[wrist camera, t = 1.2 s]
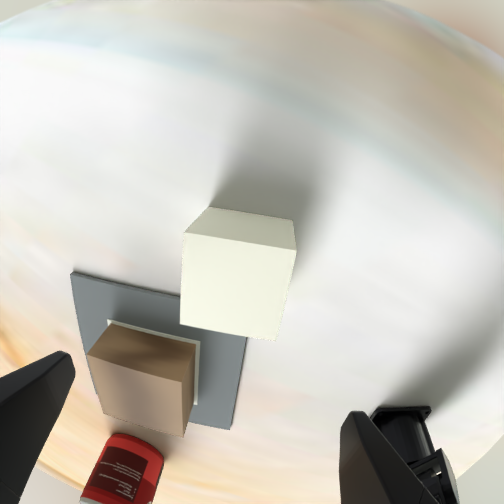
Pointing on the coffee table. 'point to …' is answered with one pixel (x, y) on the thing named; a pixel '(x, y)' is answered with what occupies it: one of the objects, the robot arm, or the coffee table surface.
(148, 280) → the coffee table surface
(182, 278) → the cream cube
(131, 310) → the building mat
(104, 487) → the canned food
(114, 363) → the walnut base
